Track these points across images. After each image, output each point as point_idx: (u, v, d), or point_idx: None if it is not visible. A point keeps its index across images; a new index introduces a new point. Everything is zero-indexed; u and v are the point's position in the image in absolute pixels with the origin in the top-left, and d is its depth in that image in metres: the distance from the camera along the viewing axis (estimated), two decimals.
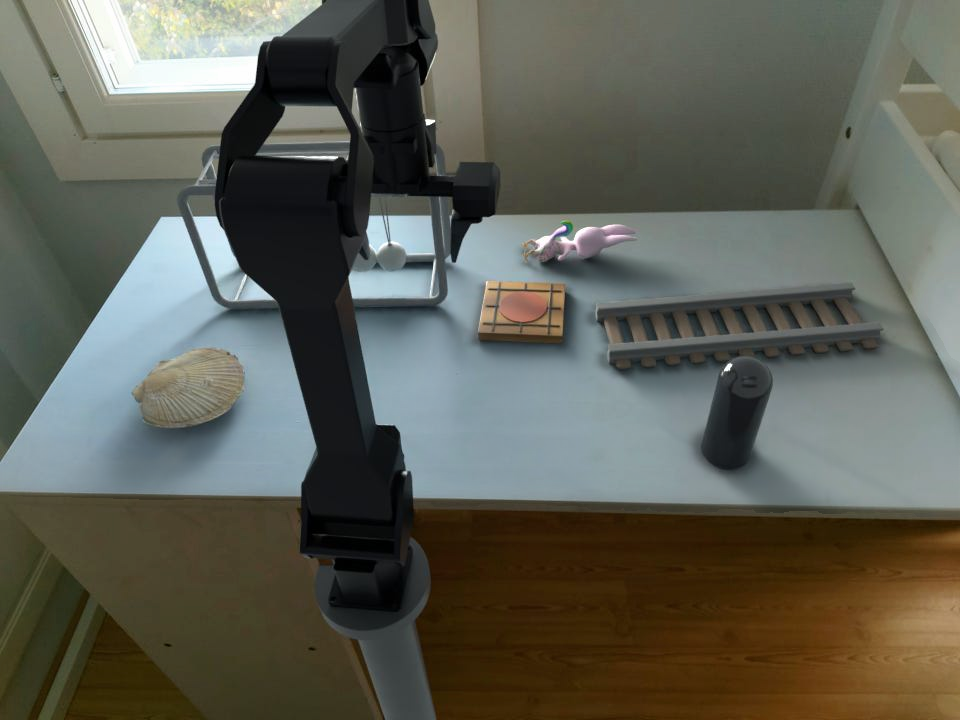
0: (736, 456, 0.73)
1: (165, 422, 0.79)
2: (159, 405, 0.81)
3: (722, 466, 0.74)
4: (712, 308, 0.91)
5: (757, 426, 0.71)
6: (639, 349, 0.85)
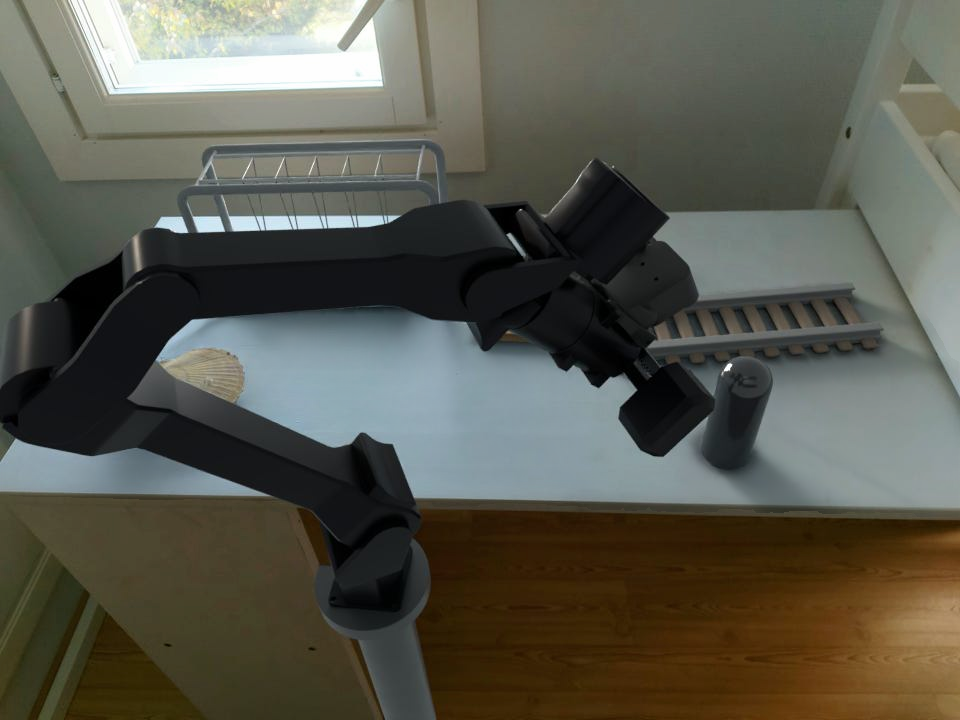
0: (736, 456, 0.73)
1: None
2: None
3: (722, 466, 0.74)
4: (712, 308, 0.91)
5: (757, 426, 0.71)
6: None
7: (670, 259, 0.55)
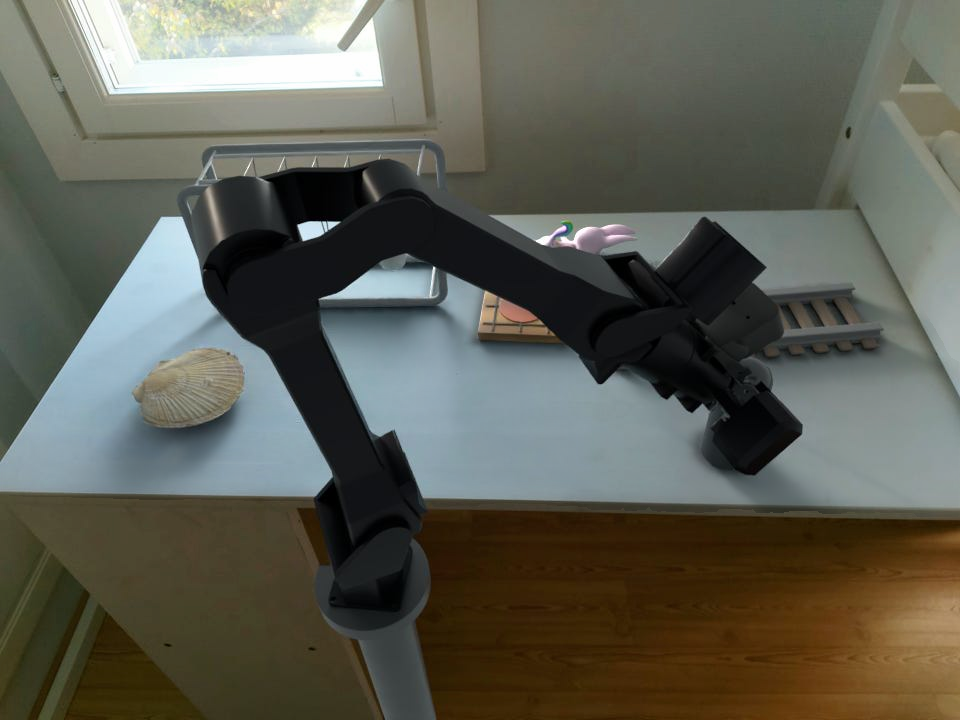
0: None
1: (165, 422, 0.79)
2: (159, 405, 0.81)
3: (722, 466, 0.74)
4: None
5: None
6: None
7: (759, 299, 0.62)
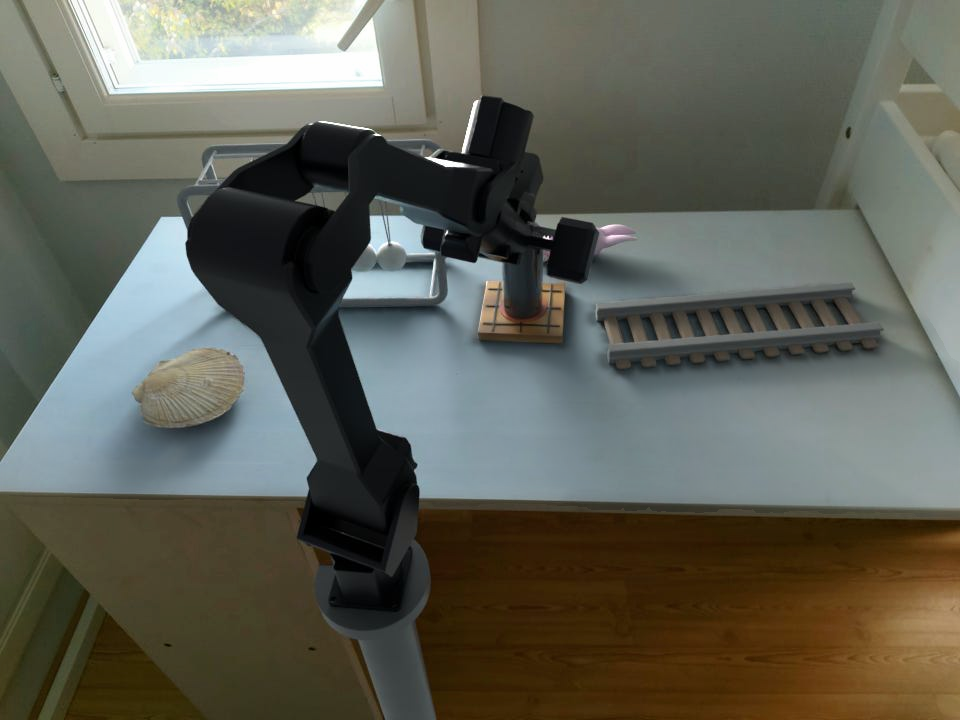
0: (538, 301, 0.89)
1: (165, 422, 0.79)
2: (159, 405, 0.81)
3: (531, 315, 0.90)
4: (712, 308, 0.91)
5: (542, 268, 0.88)
6: (639, 349, 0.85)
7: None
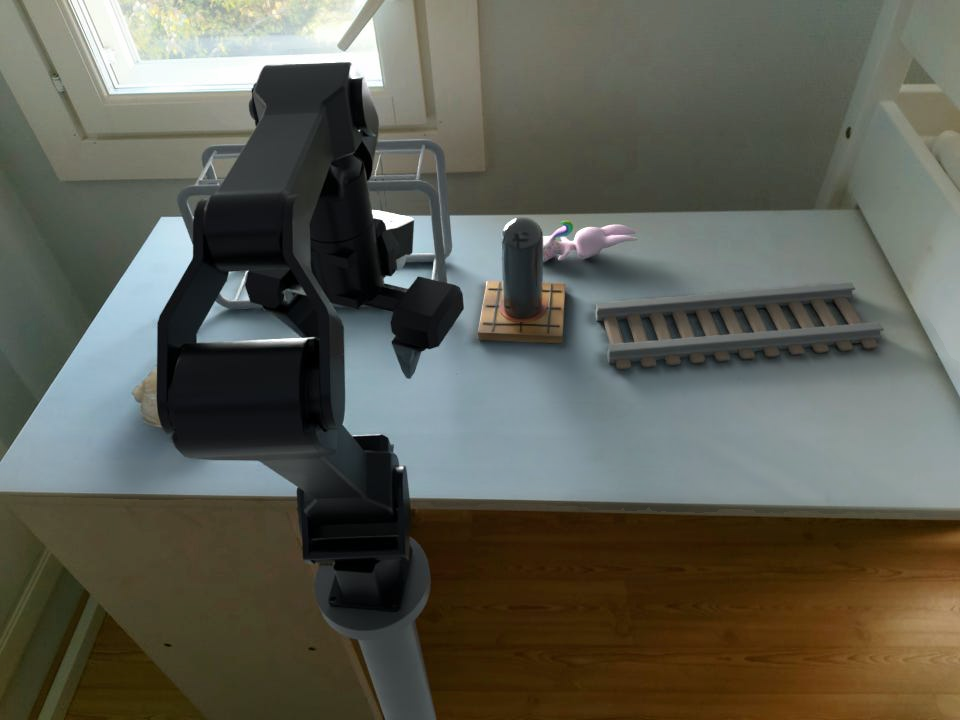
0: (538, 301, 0.89)
1: None
2: None
3: (531, 315, 0.90)
4: (712, 308, 0.91)
5: (542, 268, 0.88)
6: (639, 349, 0.85)
7: (392, 215, 0.68)
